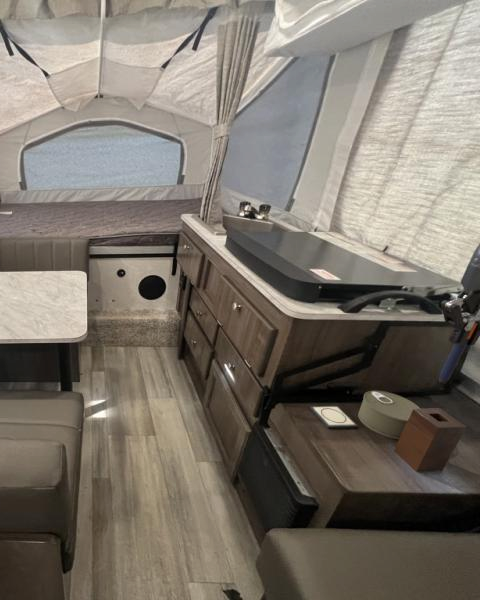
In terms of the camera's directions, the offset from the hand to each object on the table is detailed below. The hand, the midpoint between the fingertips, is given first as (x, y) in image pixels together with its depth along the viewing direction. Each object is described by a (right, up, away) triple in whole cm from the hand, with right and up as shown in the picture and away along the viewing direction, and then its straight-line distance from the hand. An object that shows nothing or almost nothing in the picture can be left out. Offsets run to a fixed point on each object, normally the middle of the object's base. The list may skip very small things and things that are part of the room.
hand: (461, 343), depth 66 cm
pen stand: (+3, -31, +11) cm, 33 cm away
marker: (0, -9, +4) cm, 10 cm away
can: (+6, -26, +23) cm, 35 cm away
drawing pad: (-7, -26, +26) cm, 37 cm away
